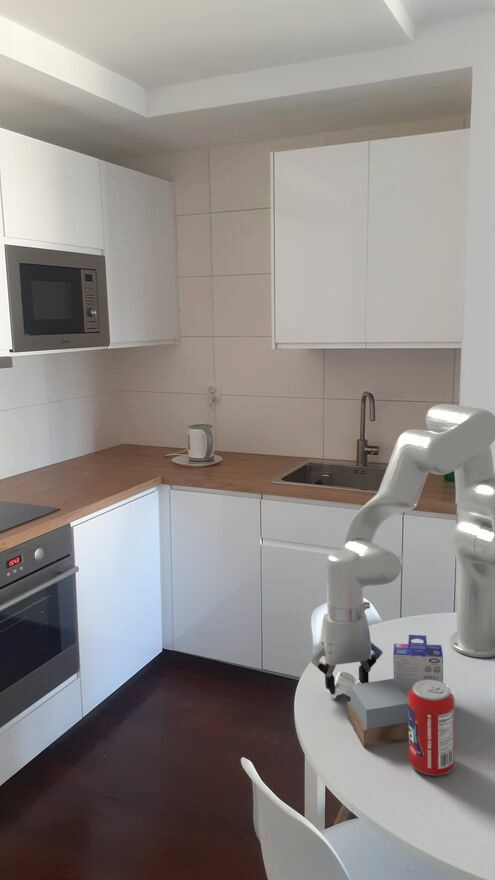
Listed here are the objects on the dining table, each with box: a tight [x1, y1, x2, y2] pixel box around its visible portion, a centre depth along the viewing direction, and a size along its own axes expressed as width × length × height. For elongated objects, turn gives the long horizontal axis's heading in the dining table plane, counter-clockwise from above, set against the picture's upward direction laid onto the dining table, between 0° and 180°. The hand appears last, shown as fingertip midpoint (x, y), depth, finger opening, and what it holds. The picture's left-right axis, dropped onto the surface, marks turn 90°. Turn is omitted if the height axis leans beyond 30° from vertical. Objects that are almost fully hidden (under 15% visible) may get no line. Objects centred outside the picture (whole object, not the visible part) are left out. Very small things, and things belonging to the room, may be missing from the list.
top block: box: [350, 678, 409, 729], centre depth 135 cm, size 9×9×4 cm
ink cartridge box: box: [392, 634, 444, 697], centre depth 143 cm, size 10×6×14 cm, turn 78°
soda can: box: [408, 679, 455, 776], centre depth 124 cm, size 8×8×15 cm
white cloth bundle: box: [331, 670, 361, 700], centre depth 149 cm, size 8×7×5 cm
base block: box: [346, 700, 409, 749], centre depth 136 cm, size 10×10×4 cm
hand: (347, 688), depth 149 cm, fingers closed on white cloth bundle, 6 cm apart
